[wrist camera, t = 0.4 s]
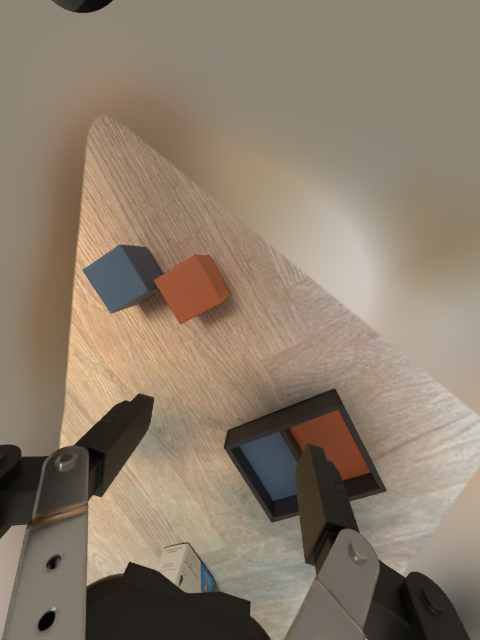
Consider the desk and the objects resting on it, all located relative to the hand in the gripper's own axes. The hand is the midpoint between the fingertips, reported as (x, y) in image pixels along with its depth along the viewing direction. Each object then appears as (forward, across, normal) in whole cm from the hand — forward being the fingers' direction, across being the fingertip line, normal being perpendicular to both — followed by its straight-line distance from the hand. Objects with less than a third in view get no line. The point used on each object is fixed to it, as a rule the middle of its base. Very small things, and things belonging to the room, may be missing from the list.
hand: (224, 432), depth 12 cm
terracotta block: (+15, +6, -4) cm, 17 cm away
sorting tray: (+14, -10, +12) cm, 21 cm away
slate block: (+15, +13, -4) cm, 20 cm away
